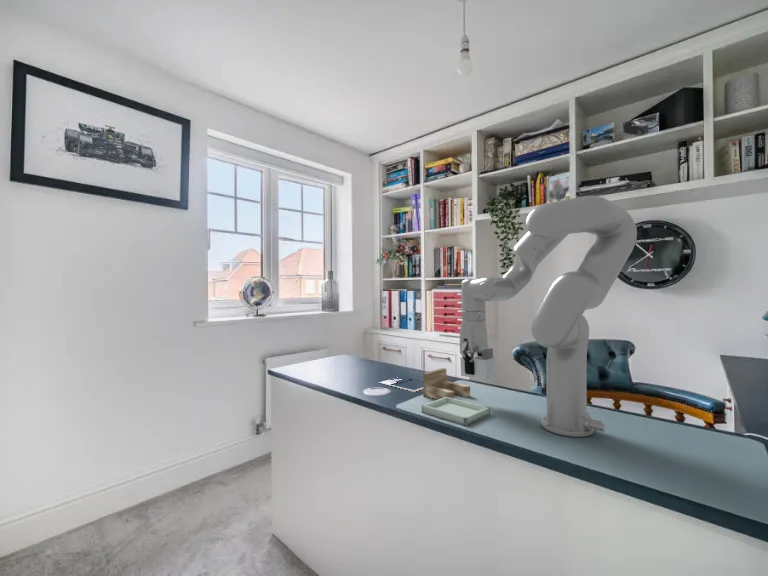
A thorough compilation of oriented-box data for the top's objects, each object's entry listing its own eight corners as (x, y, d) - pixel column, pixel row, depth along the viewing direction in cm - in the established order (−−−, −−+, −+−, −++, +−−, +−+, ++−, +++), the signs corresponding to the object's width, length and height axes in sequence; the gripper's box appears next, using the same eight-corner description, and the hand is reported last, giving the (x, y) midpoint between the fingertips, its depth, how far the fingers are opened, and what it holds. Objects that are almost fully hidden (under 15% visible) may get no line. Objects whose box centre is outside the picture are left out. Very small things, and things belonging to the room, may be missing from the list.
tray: (489, 414, 107) (489, 407, 107) (466, 425, 98) (466, 418, 98) (446, 402, 118) (446, 396, 118) (421, 411, 110) (421, 405, 110)
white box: (495, 376, 116) (494, 348, 116) (485, 379, 112) (484, 350, 112) (471, 372, 122) (470, 346, 123) (460, 375, 118) (460, 348, 118)
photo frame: (402, 375, 154) (438, 383, 141) (402, 378, 154) (438, 385, 141) (378, 381, 143) (414, 390, 131) (378, 384, 143) (414, 393, 131)
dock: (470, 396, 126) (470, 373, 126) (450, 403, 118) (450, 378, 118) (443, 389, 134) (443, 368, 134) (423, 396, 126) (423, 373, 126)
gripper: (477, 315, 127) (479, 367, 126) (448, 318, 115) (450, 375, 114) (497, 315, 122) (499, 369, 121) (469, 318, 110) (470, 378, 109)
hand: (475, 372), depth 118 cm, fingers closed on white box, 6 cm apart
